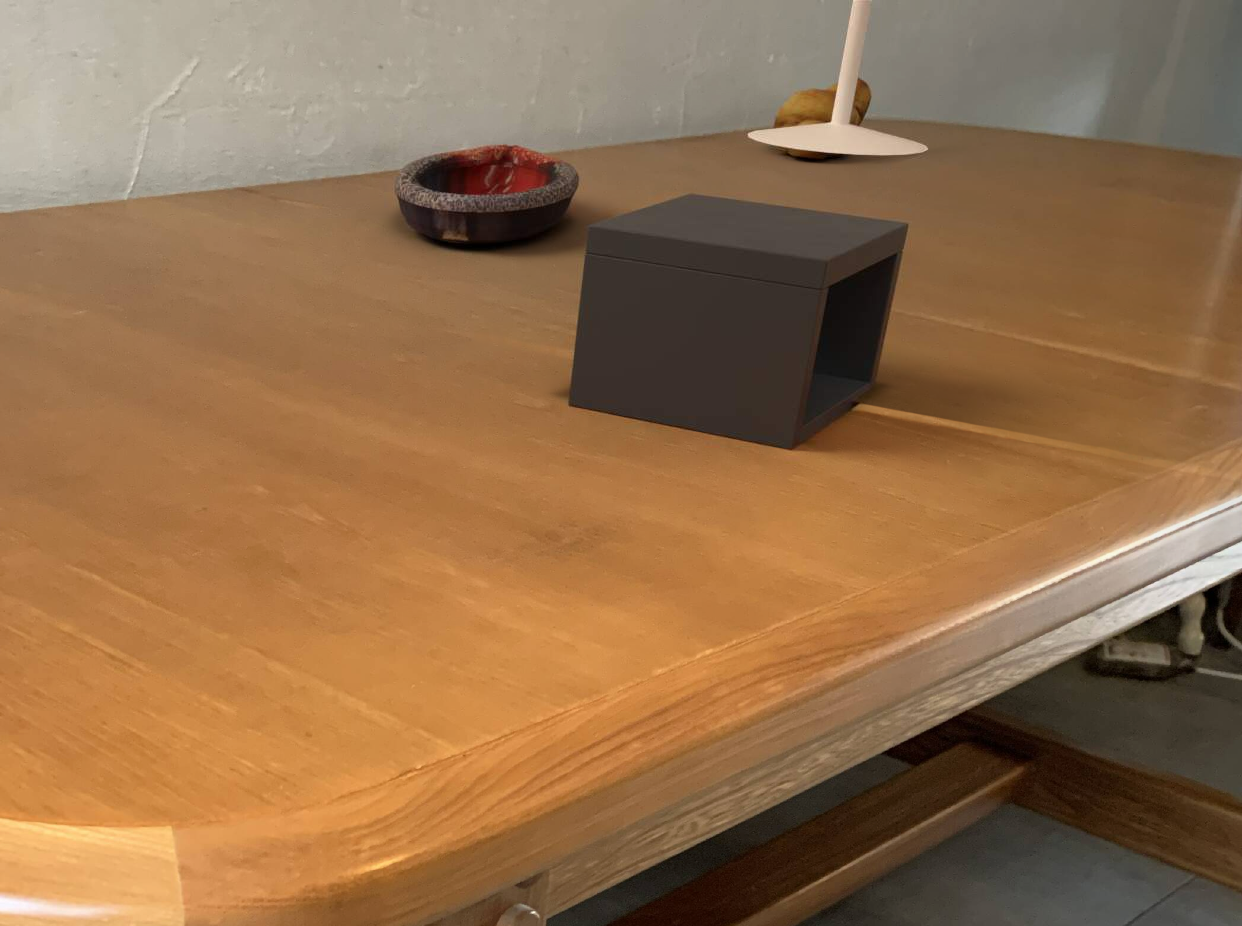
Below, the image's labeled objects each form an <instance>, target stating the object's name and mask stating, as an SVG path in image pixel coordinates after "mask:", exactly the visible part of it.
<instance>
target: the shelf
mask: <svg viewBox="0 0 1242 926" xmlns="http://www.w3.org/2000/svg"><path fill="white" fill-rule="evenodd" d="M909 226H910V225H909V223H908V222H903V221H895V220H888V219H881V218H874V217H866V216H859V215H852V214H845V213H837V212H829V211H822V210H815V209H809V208H808V209H807V208H800V207H792V206H786V205H778V204H773V203H772V204H771V203H764V202H756V201H749V200H743V199H742V200H741V199H735V198H734V199H733V198H728V197H727V198H726V197H720V196H712V195H706V194H705V195H704V194H699V193H698V194H697V193H688V194H685V195H681V196H678V197H675V198H671V199H668V200H665V201H662V202H659V203H655V204H653V205H649V206H646V207H643V208H639V209H636V210H633V211H630V212H626V213H624V214H621V215H618V216H615V217H614V216H613V217H611V218H608V219H603V220H601V221H598V222H595V223H591V224H588V227H587V237H586V244H585V253H584V262H583V270H582V279H581V287H580V297H579V306H578V315H577V323H576V331H575V341H574V351H573V359H572V368H571V376H570V386H569V394H568V406H572V407H577V408H581V409H587V410H591V411H596V412H601V413H607V414H612V415H616V416H622V417H627V418H631V419H638V420H642V421H647V422H651V423H657V424H661V425H667V426H671V427H675V428H676V427H678V428H680V429H681V428H682V429H687V430H692V431H697V432H703V433H707V434H712V435H716V436H721V437H727V438H732V439H736V440H742V441H746V442H751V443H757V444H762V445H765V446H773V447H776V448H782V449H787V450H793V449H795V448H796V447H798V446H799V445H801V444H802V443H804V442H805V441H807V440H808V439H810V438H812V437H813V436H814V435H816V434H817V433H819V432H821V431H822V430H823V429H824V428H826V427H828V426H829V425H830V424H832V423H834V422H835V421H837V420H838V419H839V418H841V417H843V416H844V415H845V414H847V413H848V412H850V411H851V410H853V409H854V408H856V407H857V406H859V405H860V404H861V402H858V401H855V400H856V399H858V398H859V397H861V396H862V395H864V394H866V393H867V392H868V391H870V390H871V389H873V388H874V387H876V381H877V377H878V372H879V367H880V362H881V358H882V353H883V348H884V344H885V338H886V334H887V329H888V325H889V320H890V316H891V310H892V305H893V301H894V297H895V292H896V287H897V282H898V278H899V272H900V268H901V264H902V263H901V262H902V259H903V254H904V249H905V244H906V239H907V235H908V230H909Z"/></svg>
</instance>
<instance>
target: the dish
mask: <svg viewBox="0 0 1242 926" xmlns="http://www.w3.org/2000/svg"><path fill="white" fill-rule="evenodd" d="M393 184H394V185H393V187H394V193H395V195H396V198H397V200H398V201H397V202H398V205H399V210H400V212H401V214H402V217H403V218H404V220H405V222H406V223H407V225H408V226H409V227H410V228H411V229H413V230H414V231H416V232H417V233H420V234H422V235H424V236H426V237H428V238H431V239H433V240H438V241H441V242H447V243H452V244H453V243H454V244H463V245H464V244H465V245H466V244H467V245H484V244H485V245H487V244H489V245H490V244H499V243H507V242H512V241H518V240H523V239H527V238H530V237H533V236H536V235H538V234H540V233H542V232H544V231H546V230H548V229H550V228H551V227H553V226H555V225H556V224H558V223H559V221H561V219H562V218H563V216H564V215H565V213H566V212H567V210H568V209H569V207H570V205H571V202H572V200H573V197H574V196H575V193H576V192H577V190H578V188H579V185H580V176H579V173H578V171H577V169H576V168H575V166H573V165H572V164H570V163H568V162H566V161H564V160H562V159H559V158H556V157H553V156H549V155H547V154H544V153H541V152H539V151H536V150H533V149H530V148H527V147H524V146H520V145H515V144H513V145H508V144H494V145H493V144H492V145H491V144H490V145H485V146H483V145H482V146H478V147H474V148H468V149H459V150H455V151H454V150H453V151H447V152H441V153H435V154H431V155H427V156H423V157H421V158H417V159H416V160H413V161H411V162H409V163H408V164H405V165H404V166H403V167H402V168H401V169H400V171H398V173H397V175H396V176H395V178H394V183H393Z"/></svg>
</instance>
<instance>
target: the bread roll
mask: <svg viewBox="0 0 1242 926" xmlns="http://www.w3.org/2000/svg"><path fill="white" fill-rule="evenodd" d="M837 87H838V82H836V83H834V84H832V85H830V86H828V87H827V88H825V89H819V88H810V89H806V90H801V91H798V92H797V91H795V92H793V95H791V96H790V97H789V98H788V99H787V101H785V102H784V103H783V104H782V105H781V106H780V108H779V110H778V111H777V114H775V116H774V123H773V129H775V128H784V127H793V126H803V125H812V124H821V123H830V122H831V120H832V115H833V109H834V103H835V98H836V92H837ZM871 100H872V91H871V87H870V86H869V84H868V83H867V82H866V81H865V80H863V79H861V78H860V77H859V76H858V80H857V85H856V90H855V96H854V101H853V106H852V112H851V117H850V123H849V124H852V125H856V126H859V127H861V124H862V122H863V120H864V118H865V116H866V114H867V112H868V109H869V107H870V104H871ZM775 147H776V149H777V150H779V151H780V152H781V151H782V152H783V153H786V154H788V155H790V156H792V157H798V158H808V159H817V160H823V159H826V158H834V157H841V156H843V155H844V154H842V153H827V152H818V151H809V150H800V149H794V148H788V147H781V146H775Z"/></svg>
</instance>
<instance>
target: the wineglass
mask: <svg viewBox="0 0 1242 926" xmlns="http://www.w3.org/2000/svg"><path fill="white" fill-rule="evenodd" d="M872 3H873V0H852V5H851V10H850V15H849V20H848V25H847V33H846V37H845V43H844V48H843V54H842V60H841V64H840V69H839V70H840V71H839V75H838V82H837V83H838V87H837V92H836V98H835V103H834V109H833V115H832V120H831V122H830V123H821V124H812V125H803V126H793V127H784V128H775V129H774V128H767V129H760V130H759V129H758V130H754V131H751V132H748V133H747V137H748V138H750V140H751V139H752V140H754V141H756V142H760V143H763V144H767V145H771V146H775V147H776V146H781V147H788V148H794V149H800V150H809V151H818V152H827V153H842V154H843V155H859V156H902V155H903V156H904V155H905V156H907V155H914V154H921V153H924V152H925V151H928V150H929V148H928V147H927V145H925V144H923V143H920V142H917V141H914V140H911V139H908V138H903V137H900V136H896V135H893V134H889V133H885V132H881V131H878V130H874V129H870V128H868V127H867V128H866V127H863V126H856V125H852V124H849V123H850V117H851V112H852V106H853V101H854V96H855V90H856V85H857V80H858V77H859V74H860V68H861V63H862V58H863V52H864V47H865V43H866V42H865V41H866V36H867V30H868V26H869V19H870V15H871V9H872Z"/></svg>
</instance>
